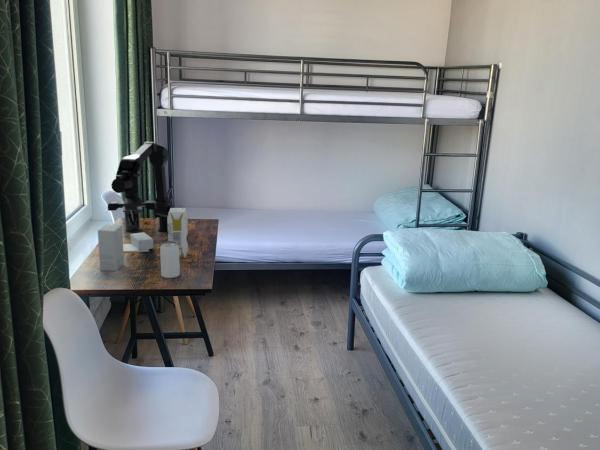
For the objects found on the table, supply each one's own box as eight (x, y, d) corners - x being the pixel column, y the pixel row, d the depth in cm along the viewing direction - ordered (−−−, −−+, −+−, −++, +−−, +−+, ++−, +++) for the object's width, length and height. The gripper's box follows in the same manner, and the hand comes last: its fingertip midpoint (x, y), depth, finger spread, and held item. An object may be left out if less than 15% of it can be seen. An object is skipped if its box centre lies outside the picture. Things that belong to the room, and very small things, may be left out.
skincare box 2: (130, 243, 216) (139, 250, 206) (130, 233, 215) (138, 240, 205) (144, 241, 219) (153, 248, 210) (144, 231, 218) (153, 238, 208)
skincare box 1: (108, 263, 192) (105, 223, 188) (125, 264, 192) (123, 224, 188) (99, 270, 184) (96, 229, 180) (117, 271, 184) (114, 230, 180)
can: (162, 279, 177) (161, 246, 174) (160, 273, 183) (158, 241, 180) (181, 277, 180) (180, 245, 177) (178, 271, 186) (177, 240, 183)
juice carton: (168, 259, 199) (166, 212, 194) (170, 252, 207) (168, 207, 202) (187, 258, 200) (186, 212, 195) (189, 252, 208) (187, 207, 204)
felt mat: (120, 245, 214) (120, 244, 214) (150, 244, 217) (149, 243, 217) (118, 252, 205) (118, 251, 205) (148, 251, 208) (148, 250, 207)
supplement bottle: (127, 227, 242) (125, 203, 239) (141, 227, 243) (140, 203, 240) (123, 231, 236) (122, 206, 233) (138, 231, 236) (137, 206, 233)
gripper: (104, 192, 197) (107, 231, 200) (154, 192, 201) (156, 229, 205) (108, 187, 207) (110, 224, 211) (155, 187, 211) (157, 223, 215)
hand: (133, 225), depth 210 cm, fingers closed
